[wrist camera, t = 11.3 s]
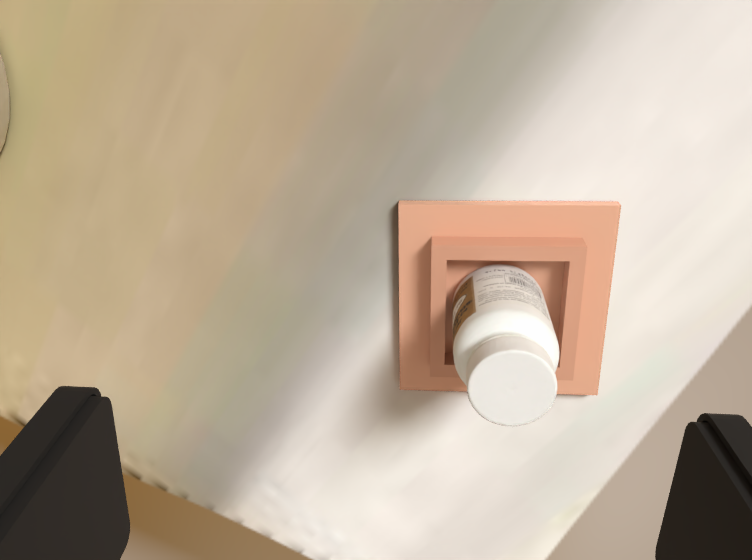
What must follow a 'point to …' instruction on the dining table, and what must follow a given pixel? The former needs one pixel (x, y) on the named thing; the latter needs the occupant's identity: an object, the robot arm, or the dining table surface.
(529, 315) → the pill bottle
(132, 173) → the dining table surface
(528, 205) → the rest
